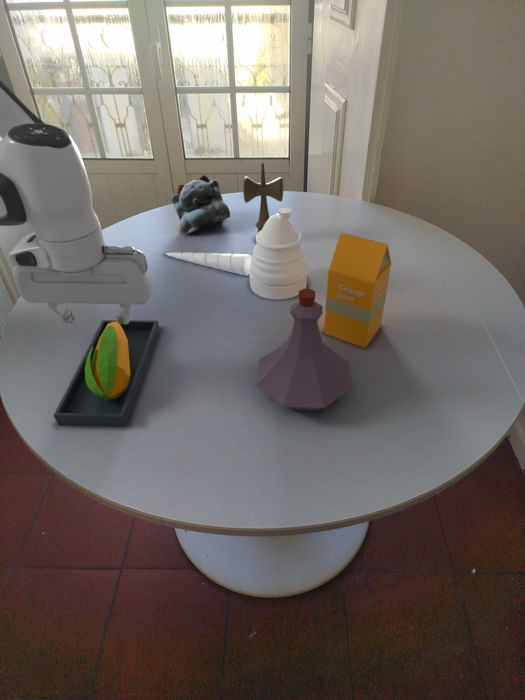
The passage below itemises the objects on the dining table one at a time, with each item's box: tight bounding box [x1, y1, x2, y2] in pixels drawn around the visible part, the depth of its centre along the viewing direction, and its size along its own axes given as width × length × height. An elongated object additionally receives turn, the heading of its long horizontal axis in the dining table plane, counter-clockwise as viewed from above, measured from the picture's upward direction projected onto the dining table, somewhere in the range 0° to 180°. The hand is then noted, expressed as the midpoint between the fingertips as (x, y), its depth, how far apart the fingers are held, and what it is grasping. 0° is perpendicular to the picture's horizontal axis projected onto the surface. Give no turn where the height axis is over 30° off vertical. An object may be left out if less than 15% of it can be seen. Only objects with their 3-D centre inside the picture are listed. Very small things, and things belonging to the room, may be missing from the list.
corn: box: [85, 322, 132, 400], centre depth 82 cm, size 7×8×20 cm
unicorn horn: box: [165, 251, 252, 277], centre depth 113 cm, size 5×24×5 cm, turn 61°
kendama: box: [242, 162, 284, 242], centre depth 116 cm, size 6×10×20 cm, turn 87°
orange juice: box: [323, 232, 392, 349], centre depth 86 cm, size 8×9×20 cm
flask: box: [256, 288, 353, 411], centre depth 74 cm, size 16×16×20 cm
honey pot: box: [248, 207, 308, 300], centre depth 100 cm, size 13×13×18 cm
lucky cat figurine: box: [170, 174, 231, 235], centre depth 127 cm, size 15×12×14 cm
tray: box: [53, 319, 161, 428], centre depth 84 cm, size 11×25×3 cm, turn 177°
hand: (96, 321), depth 78 cm, fingers open, 8 cm apart
